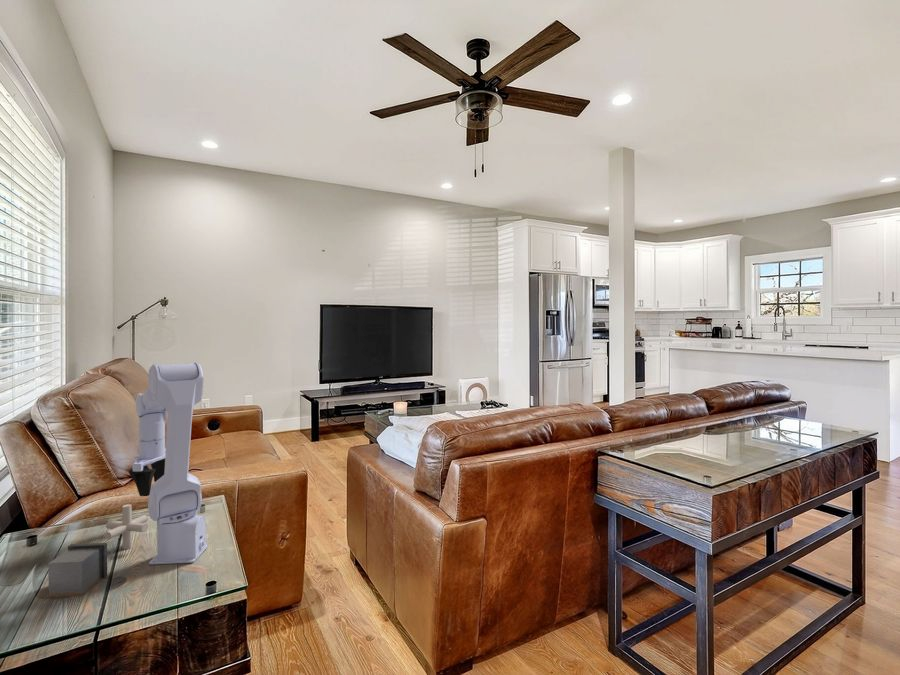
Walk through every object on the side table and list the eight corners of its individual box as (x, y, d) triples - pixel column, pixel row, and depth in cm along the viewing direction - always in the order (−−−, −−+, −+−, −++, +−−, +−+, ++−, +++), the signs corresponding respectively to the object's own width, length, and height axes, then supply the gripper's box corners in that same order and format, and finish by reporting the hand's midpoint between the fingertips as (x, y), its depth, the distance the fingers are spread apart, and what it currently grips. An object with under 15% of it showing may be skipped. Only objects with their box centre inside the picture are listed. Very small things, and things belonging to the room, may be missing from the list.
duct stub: (71, 578, 98) (71, 544, 98) (107, 576, 99) (106, 542, 99) (46, 597, 91) (45, 560, 91) (84, 595, 92) (84, 558, 92)
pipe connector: (126, 559, 106) (126, 515, 106) (90, 555, 108) (89, 512, 108) (162, 540, 116) (161, 499, 116) (127, 536, 118) (127, 496, 118)
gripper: (150, 432, 130) (151, 481, 130) (119, 446, 116) (119, 501, 116) (177, 432, 131) (178, 480, 131) (149, 445, 116) (150, 500, 117)
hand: (152, 490), depth 124 cm, fingers open, 7 cm apart
